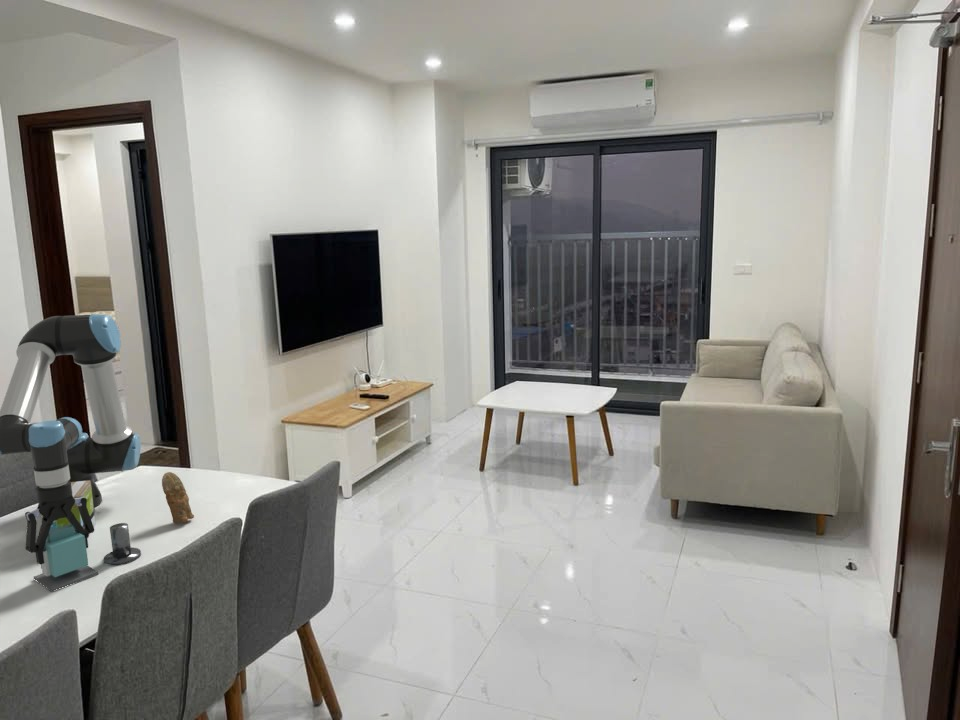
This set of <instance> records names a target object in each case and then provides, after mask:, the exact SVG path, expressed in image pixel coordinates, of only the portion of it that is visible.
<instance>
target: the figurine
mask: <svg viewBox="0 0 960 720" xmlns="http://www.w3.org/2000/svg"><path fill="white" fill-rule="evenodd" d="M161 487H162V491H163V493H164V495H165V499H166V502H167V505H168V507H169V510H170V514H171V518H172V523H174V524H177V523H186V522H187V521H189V520H192V519H194V518H195V515H194V514H193V513H192V509H191V506H190V503H189V501H190V498H189V495H188V493H187V490H186V488H185V486H184V484H183V482H182V480H181V478H180V477H179V476H178V475H177V474H175V473H174V472H170V471H168V472H165V473H164V474H163V475H162V477H161Z"/></svg>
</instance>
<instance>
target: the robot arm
mask: <svg viewBox="0 0 960 720" xmlns="http://www.w3.org/2000/svg"><path fill="white" fill-rule="evenodd" d="M121 345H122V341H121V334H120V330H119V327H118V325H117V323H116V321H115V320H114V318H113V317H111V316H110V315H108V314H96V313H92V314H78V315H76V314H75V315H55V316H53V315H52V316H50V317H47V318H44V319H42V320H41V321H39V322H37V323H36V324H34V325H33V326H32V327H31V328H29V330H27V332H26V333H25V334H24V335H23V337H22V338H21V340H20V341H19V343H18V345H17V349H16V352H15V353H16V357H17V360H16V361H17V362H16V364H15V367H14V370H13V372H12V375H11V377H10V380H9V384H8V387H7V390H6V392H5V396H4V398H3V401H2V404H1V407H0V455H1V456H4V455H9V454H10V455H11V454H23V453H31V455H30V456H31V459H32V466H33V473H34V479H35V486H36V488H35V490H36V497H37V502H38V505H37V507H36V509H34V510H32V511H26V512H25V513H24V517H25V519H26V535H25V536H26V537H25V538H26V539H25V550H26V551H27V552H28V553H31V554H33V553H35V560H36V563H37V564H39V565H40V567H41V566H42V569H41V571H42V573H43V574H44V575H46V576H50V569H49V562H48V555H47V551H46V550H44V547H45V543H46V540H47V537H48V534H49V531H50V528H51V525H52V524H53V521H55V520H58V519H59V518H65V517H66V518H67V519H68V521H69V522H70V523H71V525H73V527H74V529H75V530H76V531H77V532H78V533H80V534H82V535H84V536H85V542H86V549H88V548H89V543H88V542H89V541H88V538H89V537H90V534H93V533H94V532H95V526H94V527H93V524H92V521H91V518H90V515H89V512H88V509H87V499H86V498H84V497H82V496H79V497H78V498H73V496H72V487H71V482H78V481H89V480H90V481H91V488H92V497H93V506H94V508H96V507H98V506H99V505H101V504H102V503H103V497H102V496H103V495H102V493H101V491H100V489H99V487H98V485H97V484H96V482H95V480H94V475H93V474H101V473H113V472H114V473H116V472H124V471H132V470H134V469H136V468H137V466H138V464H139V461H140V456H141V448H142V447H141V446H142V445H141V444H142V443H141V436H140V435H139V434H138V433H133V429H132V427H131V426H129V425H127V424H126V421H125V417H124V412H123V408H122V407H123V405H122V401H121V397H120V392H119V391H120V390H119V387H118V383H117V377H116V371H115V367H114V362H113V360H114V359H115V358H116V357H117V352H119V351H120V349H121V348H122V347H121ZM69 355H71V356H72V357H73V362H74V363H75V364H77V365H78V366H80V367H81V371H82V377H83V379H84V384H85V388H86V392H87V397H88V402H89V407H90V412H91V415H92V420H93V425H94V428H95V431H94V432H93V433H92V435H91V437H90V436H89V435H88V433H86V432H83V428H82V424H81V423H80V422H79V421H78V420H77V419H76V418H72V417H69V416H64V417H61V418H58V419H56V420H46V421H45V420H44V421H41V422H31V421H32V418H33V414H34V411H35V408H36V405H37V402H38V399H39V396H40V393H41V390H42V387H43V386H42V385H43V384H44V380H45V377H46V374H47V371H48V368H49V365H51V364H52V363H54V362H55V359H56V357H57V356H69ZM74 504H76V505H77V506H78V509H79V512H80V515H81V518H82V521H83V524H84V527H85V529H84V528H83V527H82V526H81V524H80V523H79V522H78V520H77V519H76V518H75V516H74V514H73V513H72V511H71V509H72V507H73V505H74ZM39 515H41V516H42V515H43V518H42V517H41V525H40V527H39V531H38V534H37V527H38V526H37V525H38V524H37V520H38V519H39ZM42 573H41V574H42Z"/></svg>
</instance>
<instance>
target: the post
mask: <svg viewBox="0 0 960 720" xmlns="http://www.w3.org/2000/svg"><path fill="white" fill-rule="evenodd" d="M109 533H110V542H111V548H112V551H110V552H108V553H107V554H106V555H105V556H104V557H103V562H104V564H105V565H107V566H120V565H121V564H122V565H126V564H129V563H133V562H134V561H136V560H137V559H139V558H140V557H141V555H142V552H141V549H140V548H138V547H132V546H131V539H130V538H131V537H130V531H129V524H128V523H126V522H121V523H116V524H112V525H111V526H110V527H109ZM122 565H121V566H122Z"/></svg>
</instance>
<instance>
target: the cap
mask: <svg viewBox="0 0 960 720" xmlns="http://www.w3.org/2000/svg"><path fill="white" fill-rule="evenodd" d="M44 550H46V551H47V555H48V562H49V569H50V575H52V576H54V577H57V576H60V575H63V574H65V573H68V572H71V571H74V570H76V569H79V568H82V567H84V566H89V558H88V552H87V548H86V542H85V536H84V535H82V534H80V533H78V532H76V531H74V528H73V525H71V524H68V525H65V526H62V527H59V528H56V529H53V530H50V531H49V534H48V537H47V540H46V543H45V547H44ZM40 568H41V570H42V566H41V565H40Z"/></svg>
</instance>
